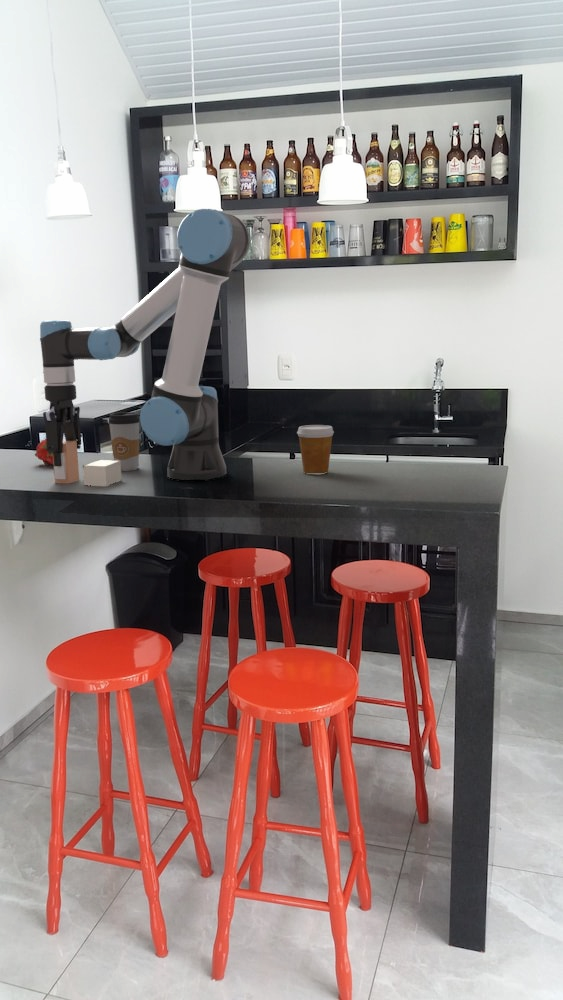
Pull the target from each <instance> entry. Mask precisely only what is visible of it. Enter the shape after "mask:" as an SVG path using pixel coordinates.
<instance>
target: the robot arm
mask: <svg viewBox="0 0 563 1000" xmlns="http://www.w3.org/2000/svg"><path fill="white" fill-rule="evenodd" d="M176 233H177V234H176V242H177V246H178V248H179V251H180V258H179V262H178V268H176V269H175V270H174V271H173V272H172V273H171V274H170V275H168V276H167V277H166V278H165V279H164V280H163V281H162V282H160V283H159V284H158V285H157V286H156V287H155V288H154V289H153V290H152V291H151V292H149V294H147V295H146V296H145V297H144V298H143V299H141V300H140V301H139V303H137V304H136V305H135V306H134V307H133V308H131V310H129V311H128V312H127V313H126V314H125V315H123V317H122V318H121V319H120V320H118V321H117V322H116V323H115V324H114V325H113V326H109V327H107V326H106V327H103V326H102V327H101V326H100V327H83V328H78V327H77V328H76V327H73V326H72V322H71V321H70V320H68V319H64V320H63V319H62V320H43V321H41V323H40V325H39V328H40V329H39V332H40V333H39V334H40V338H39V341H40V347H41V348H40V349H41V356H42V358H41V359H42V370H43V371H42V373H43V383H44V384H46V385H44V387H43V388H44V399H45V400H46V401H47V402H48V401H49V403H50V404H49V407H48V408H49V409H48V411H43V413H42V415H43V419H44V425H45V426H44V428H45V439H46V443H47V451H48V452H49V453H53V459H54V465H53V470H54V469H55V476H54V480H55V479H66V466H65V453H62V448H63V441H64V439H65V441H77V450H78V449H79V450H80V449H81V445H82V436H81V435H82V434H81V421H80V420H81V419H80V412H81V407H80V406H74V402H73V401H74V400H76V399H77V387H76V386H77V385H75V384H74V383H75V382H76V374H75V373H76V372H75V371H76V370H75V360H77V361H78V360H90V361H91V360H93V361H95V360H97V361H107V360H113V359H116V358H127V357H130V356H132V355H134V354H136V353H137V352H138V350H139V348H140V345H141V343H142V342H143V341H145V339H146V338H147V337H149V336H150V335H151V334H152V333H154V332H155V331H156V330H157V329H158V328H159V327H161V326H162V325H163V324H164V323H165V322H166V321H167V320H168V319H170V318H171V317H172V316H173V315H174V320H173V324H172V331H171V333H170V339H169V344H168V348H167V354H166V358H165V364H164V368H163V372H162V376H161V378H159V379H157V380H156V381H154V384H153V388H152V392H151V398H149V399H148V400H147V401H146V402H145V403H144V405H142V407H141V410H140V414H139V421H140V422H139V423H140V426H141V429H142V430H143V431H142V432H144V434H145V436H146V437H148V439H149V440H150V441H152V442H153V443H154V444H157V445H160V446H172V450H171V454H170V459H169V461H168V464H167V471H166V472H167V478H168V477H169V478H168V479H170V478H172V479H171V480H173V479H181V480H184V479H185V480H191V479H192V480H193V479H208V478H215V477H220V476H223V475H225V474H227V465H226V462H225V459H224V456H223V453H222V451H221V449H220V448H221V447H220V445H219V444H220V443H219V442H220V441H219V440H220V439H219V410H218V409H219V407H218V405H219V404H218V403H219V399H218V394H217V393H218V392H217V390H216V388H215V387H212V386H205V385H204V386H203V385H201V386H200V385H199V383H200V380H201V378H200V377H201V374H202V369H203V365H204V360H205V356H206V352H207V346H208V342H209V340H210V336H211V335H210V333H211V330H212V325H213V321H214V318H215V317H214V316H215V311H216V308H217V307H216V306H217V303H218V299H219V293H220V289H221V285H222V284H223V283H225V282H226V281H228V280H229V278H230V276H231V272H232V270H234V268H236V267H237V266H238V265H239V264H240V263H241V262H243V260H244V259H245V258H246V257H247V254H248V253H249V250H250V246H251V236H250V232H249V229H248V228H247V225H245V223H244V221H242V220H241V219H240V218H238V217H237V216H235V215H234V214H233V215H232V214H229V213H226V212H222V211H220V210H217V209H212V208H200V209H196V210H194V211H191V212H190V213H188V214H187V215H186V216H185V217H184V218H183V219H182V221H181V223H180V224H179V226H178V230H177V232H176Z"/></svg>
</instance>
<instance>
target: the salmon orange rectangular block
mask: <svg viewBox="0 0 563 1000" xmlns="http://www.w3.org/2000/svg"><path fill="white" fill-rule="evenodd" d="M62 453H65V466H66V479H55V478H54V483H55V484H72V483H74V481H75V482H78V481H80V469H79V468H80V467H79V456H78V449H77V441H66V440H63V448H62ZM53 464H54V459H53ZM53 464H52V465H53ZM53 473H54V475H53V476H54V477H55V469H54V468H53Z"/></svg>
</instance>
